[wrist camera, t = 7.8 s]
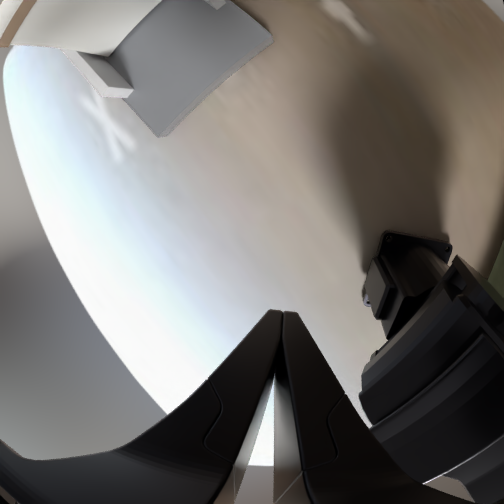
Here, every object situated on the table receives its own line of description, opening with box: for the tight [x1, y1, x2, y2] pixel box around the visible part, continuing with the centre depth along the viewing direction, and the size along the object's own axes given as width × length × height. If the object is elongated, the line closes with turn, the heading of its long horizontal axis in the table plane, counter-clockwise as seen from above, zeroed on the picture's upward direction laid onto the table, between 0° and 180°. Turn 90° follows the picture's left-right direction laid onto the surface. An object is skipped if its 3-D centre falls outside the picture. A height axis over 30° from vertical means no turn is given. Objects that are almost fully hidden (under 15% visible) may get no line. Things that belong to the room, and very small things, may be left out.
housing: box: [60, 0, 274, 138], centre depth 12 cm, size 14×10×4 cm
